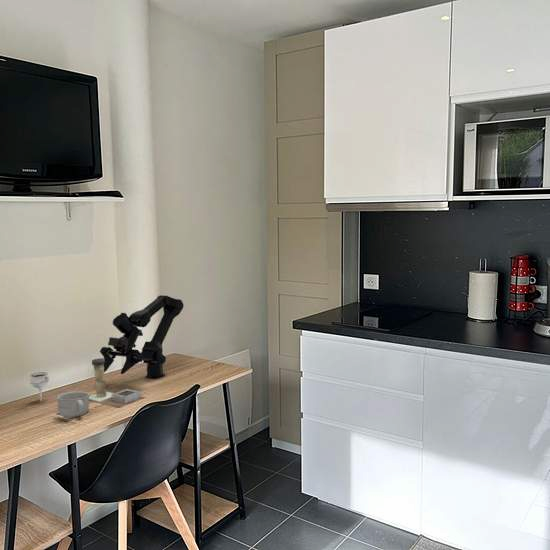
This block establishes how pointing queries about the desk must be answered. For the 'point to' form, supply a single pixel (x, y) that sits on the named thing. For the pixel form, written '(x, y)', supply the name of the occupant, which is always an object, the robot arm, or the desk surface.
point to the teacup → (73, 404)
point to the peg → (99, 376)
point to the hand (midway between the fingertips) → (112, 372)
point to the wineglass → (39, 381)
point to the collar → (126, 396)
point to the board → (114, 404)
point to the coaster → (100, 399)
